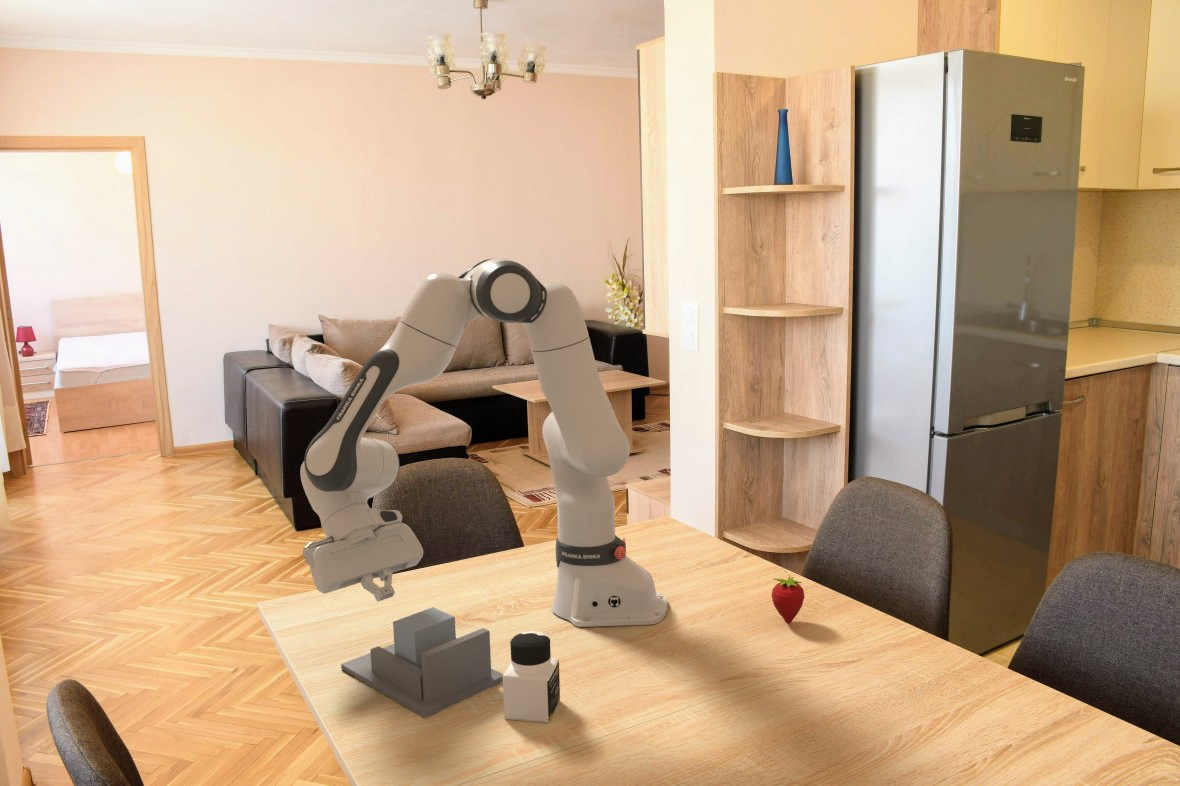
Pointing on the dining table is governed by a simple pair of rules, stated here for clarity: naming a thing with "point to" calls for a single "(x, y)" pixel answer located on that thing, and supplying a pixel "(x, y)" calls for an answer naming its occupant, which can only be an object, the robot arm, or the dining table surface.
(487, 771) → the dining table surface
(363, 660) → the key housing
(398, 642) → the key block
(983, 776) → the dining table surface
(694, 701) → the dining table surface
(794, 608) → the strawberry
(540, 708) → the medicine bottle
